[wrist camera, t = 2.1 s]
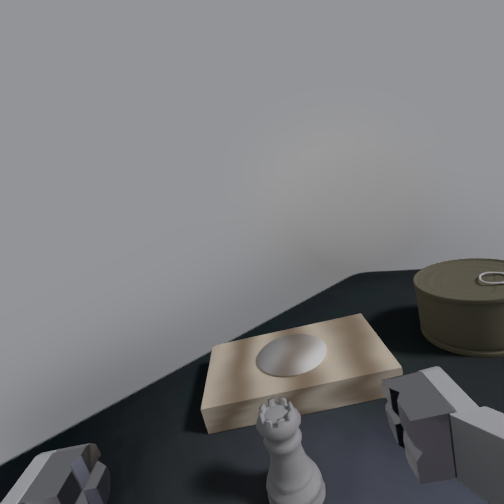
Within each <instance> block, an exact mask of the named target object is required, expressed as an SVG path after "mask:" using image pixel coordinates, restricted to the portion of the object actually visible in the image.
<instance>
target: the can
mask: <svg viewBox="0 0 504 504" xmlns="http://www.w3.org/2000/svg"><path fill="white" fill-rule="evenodd" d="M413 284H414V287H415V289H416V295H417V303H418V310H419V318H420V327H421V332H422V334H423V336H424V337H425V338H426V339H427V340H428V341H429V342H431V343H432V344H434V345H435V346H437V347H439V348H441V349H444V350H446V351H449V352H452V353H456V354H460V355H465V356H472V357H483V358H496V357H504V260H496V259H459V260H451V261H445V262H441V263H437V264H434V265H430V266H428V267H426V268H423V269H422V270H420V271H419V272H417V273H416V274H415V276H414V278H413Z"/></svg>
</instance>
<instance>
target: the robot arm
mask: <svg viewBox="0 0 504 504" xmlns="http://www.w3.org/2000/svg"><path fill="white" fill-rule="evenodd" d="M381 385H382V392H383V394H384V396H385V397H386V399H387V401H388V402H387V404H386V406H385V408H386V413H387V418H388V421H389V424H390V427H391V430H392V432H393V435H394V437H395V439H396V441H397V443H398V444H399V445H400V446H401V447H403V448H405V452H406V458H407V461H408V463H409V465H410V467H411V468H412V470H413V472H414V474H415V476H416V478H417V479H418V481H419V483H420V485H421V484H427V483H433V482H439V481H445V480H451V479H457V480H458V481H459V482H460V483H462V484H463V485H465V486H466V487H467V488H469V489H470V490H472V491H473V492H474V493H476V494H477V495H478V496H480V497H481V498H483V499H484V500H485V501H487V502H488V503H489V504H504V414H503V413H501V412H498V411H496V410H493V409H491V408H488V407H486V406H485V407H480V408H479V407H478V406H477V405H476V404H475V403H474V402H473V401H472V399H471V398H470V397H469V396H468V395H467V394H466V393H465V392H464V391H463V390H462V389H461V388H460V387H459V386H458V385H457V384H456V383H455V382H454V381H453V380H452V379H451V378H450V377H449V376H448V375H447V374H446V373H445V372H444V371H443V370H442V369H441V368H440V367H437V366H436V367H432V368H428V369H424V370H420V371H418V372H414V373H409V374H405V375H400V376H396V377H391V378H387V379H382V380H381ZM100 454H101V453H100V451H99V449H98V448H97V446H96V444H92V443H89V444H84V445H78V446H73V447H68V448H63V449H58V450H54V451H49V452H44V453H41V454H39V455H38V456H36V457H35V458H34V459H33V461H32V462H31V463H30V465H29V466H28V467H27V469H26V470H25V471H24V473H23V474H22V475H21V477H20V478H19V480H18V481H17V482H16V484H15V485H14V486H13V488H12V489H11V490H10V492H9V493H8V494H7V496H6V497H5V498H4V500H3V501H2V502H1V504H106V502H107V499H108V497H109V492H110V484H111V481H110V475H109V472H108V469H107V467H106V466H105V465H103V464H102V463H100V462H99V461H98V460H99V457H100Z"/></svg>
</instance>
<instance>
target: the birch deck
mask: <svg viewBox="0 0 504 504" xmlns="http://www.w3.org/2000/svg"><path fill="white" fill-rule="evenodd" d="M400 375H403V372H402V367H401V366H400V364H399V363H398V362H397V360H396V359H395V358H394V356H393V355H392V354H391V352H390V351H389V350H388V348H387V347H386V346H385V344H384V343H383V342H382V341H381V339H380V338H379V337H378V335H377V334H376V333H375V331H374V330H373V329H372V327H371V326H370V325H369V323H368V322H367V321H366V320H365V318H364V317H363V316H362V314H361V313H360V314H356V315H351V316H347V317H342V318H338V319H333V320H328V321H324V322H319V323H315V324H310V325H306V326H301V327H297V328H292V329H288V330H283V331H278V332H274V333H269V334H265V335H260V336H256V337H251V338H247V339H242V340H237V341H233V342H228V343H224V344H219V345H215V346H213V349H212V354H211V359H210V364H209V369H208V374H207V379H206V384H205V389H204V395H203V400H202V405H201V413H202V416H203V419H204V422H205V425H206V428H207V431H208V434H212V433H217V432H221V431H226V430H231V429H236V428H241V427H246V426H250V425H255V424H256V422H257V418H258V416H259V415H258V413H260V411H259V407H260V406H261V404H264V405H265V406H268V405H269V404H268V399H271V398H273V397H274V401H275V402H279V398H280V397H283V398H286V400H287V403H288V402H290V401H291V403H292V405H293V407H294V408H296V409H297V410H298V412H299V413H300V415H304V414H309V413H313V412H318V411H323V410H328V409H333V408H338V407H342V406H347V405H352V404H357V403H362V402H367V401H371V400H376V399H381V398H386V397H385V396H384V394H383V392H382V385H381V380H382V379H387V378H391V377H396V376H400Z"/></svg>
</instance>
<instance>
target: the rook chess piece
mask: <svg viewBox="0 0 504 504" xmlns="http://www.w3.org/2000/svg"><path fill="white" fill-rule="evenodd" d="M268 404H269V405H268V406H265V405H264V404H261V406H260V407H259V411H260V413H258V415H259V416H258V418H257V422H256V428H257V431H258V433H260V434H261V435H262V436H263V437H264V445H265V447H266V448H267V449H268V450H269V454H270V463H271V465H270V467H269V472H268V474H267V482H266V489H267V493H268V499H269V503H270V504H323V501H324V498H325V496H326V495H325V483H324V481H323V479H322V475H321V473H320V471H319V469H318V467H317V465H316V464H315V463H314V462H313V461H312V460H311V459H310V458H309V457H308V456H307V455H306V454H305V452H304V450H303V447H302V445H301V440H302V433H301V431H300V429H299V428H298V426H299V424H300V422H301V415H300V413H299V412H298V410H297V409H296V408H294V407H293V405H292V403H291V401H290V402H288V403H287V400H286V398H283V397H280V398H279V402H275V401H274V397H273V398H271V399H268Z"/></svg>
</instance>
